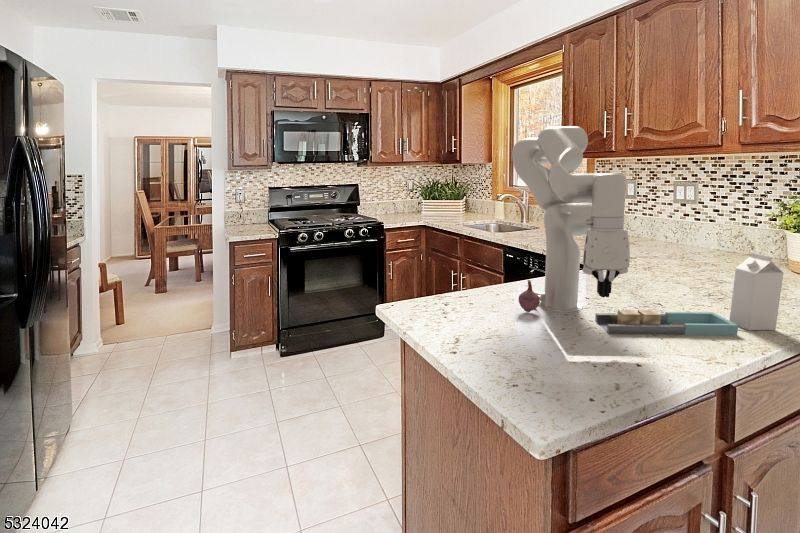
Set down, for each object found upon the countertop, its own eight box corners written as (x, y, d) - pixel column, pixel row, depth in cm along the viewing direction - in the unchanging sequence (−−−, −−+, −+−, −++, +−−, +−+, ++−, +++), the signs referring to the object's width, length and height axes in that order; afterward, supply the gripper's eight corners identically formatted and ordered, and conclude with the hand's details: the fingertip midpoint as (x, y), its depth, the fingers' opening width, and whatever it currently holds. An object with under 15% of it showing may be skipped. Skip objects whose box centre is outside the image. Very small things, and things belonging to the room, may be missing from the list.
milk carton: (754, 321, 129) (763, 252, 125) (775, 330, 122) (786, 257, 118) (728, 322, 129) (737, 253, 125) (748, 331, 122) (758, 257, 118)
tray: (684, 338, 117) (686, 324, 117) (664, 324, 128) (665, 312, 127) (736, 339, 116) (738, 325, 116) (711, 325, 127) (713, 312, 126)
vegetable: (537, 310, 144) (538, 277, 142) (541, 316, 138) (542, 282, 136) (516, 309, 144) (517, 277, 142) (519, 315, 138) (520, 282, 136)
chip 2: (643, 329, 121) (644, 314, 121) (636, 324, 125) (638, 310, 125) (659, 329, 121) (660, 314, 120) (652, 324, 125) (654, 310, 124)
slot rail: (608, 337, 119) (609, 326, 118) (594, 323, 130) (595, 313, 129) (684, 338, 117) (685, 326, 117) (664, 324, 128) (665, 313, 128)
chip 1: (622, 329, 122) (623, 314, 121) (617, 324, 126) (618, 309, 125) (638, 329, 121) (640, 314, 121) (632, 324, 125) (634, 309, 125)
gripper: (580, 225, 116) (577, 299, 119) (644, 224, 114) (640, 299, 117) (572, 223, 123) (569, 293, 126) (632, 222, 122) (628, 292, 125)
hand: (603, 296), depth 122 cm, fingers closed
